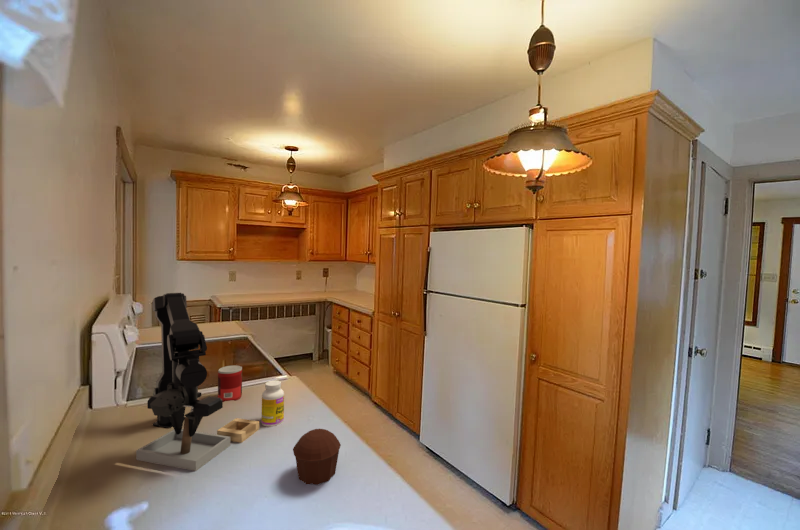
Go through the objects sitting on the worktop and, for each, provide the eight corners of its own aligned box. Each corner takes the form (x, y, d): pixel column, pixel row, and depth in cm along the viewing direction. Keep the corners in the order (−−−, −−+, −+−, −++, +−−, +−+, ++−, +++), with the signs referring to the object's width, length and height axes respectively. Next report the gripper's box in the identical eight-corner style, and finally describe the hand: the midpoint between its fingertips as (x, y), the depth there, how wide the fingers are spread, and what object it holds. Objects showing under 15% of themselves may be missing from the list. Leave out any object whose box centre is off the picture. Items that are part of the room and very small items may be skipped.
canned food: (246, 397, 133) (246, 367, 132) (225, 404, 126) (226, 373, 126) (234, 392, 137) (234, 363, 136) (213, 399, 130) (213, 369, 130)
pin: (178, 452, 94) (182, 418, 94) (185, 448, 96) (189, 415, 96) (185, 454, 93) (189, 420, 93) (191, 450, 95) (196, 417, 95)
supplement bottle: (276, 429, 109) (277, 387, 108) (257, 427, 110) (257, 385, 110) (287, 419, 115) (288, 380, 115) (269, 417, 117) (269, 378, 116)
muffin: (301, 459, 94) (302, 421, 93) (343, 460, 93) (344, 422, 93) (285, 488, 82) (286, 445, 81) (334, 490, 81) (334, 447, 81)
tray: (136, 462, 91) (136, 450, 91) (176, 438, 102) (176, 428, 102) (196, 473, 87) (196, 461, 87) (230, 447, 98) (230, 436, 98)
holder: (217, 440, 102) (217, 430, 102) (236, 427, 109) (236, 418, 109) (241, 444, 100) (241, 434, 100) (259, 431, 108) (259, 421, 107)
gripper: (127, 383, 88) (127, 445, 89) (190, 391, 84) (190, 457, 84) (166, 369, 99) (166, 425, 100) (224, 375, 95) (223, 434, 95)
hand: (185, 435), depth 94 cm, fingers open, 4 cm apart
